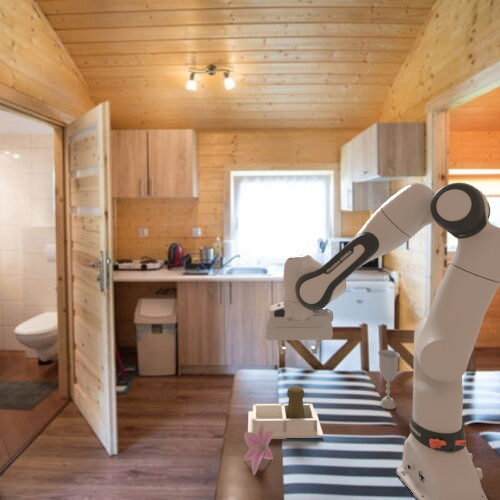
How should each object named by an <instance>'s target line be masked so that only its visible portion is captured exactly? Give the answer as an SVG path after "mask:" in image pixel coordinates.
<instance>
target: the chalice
mask: <svg viewBox="0 0 500 500" xmlns="http://www.w3.org/2000/svg"><path fill="white" fill-rule="evenodd" d="M377 353H378V356H379V361H378V362H379V364H378V365H379V370H380V373H381V375H382V377H383V379H384V381H386V385H385V387H386V390H385V393H386V395H385V396H383V398H382V399H381V401H380V403H379V405H381V406H382V408H383V409H387V410H393V409H395V408H396V404H395V401H394V399H393V398H392V397H391V396H390V394H391V390H390V389H391V387H392V386H391V384H390V383H391V382H393V380H394V379H395V377H396V375H397V372H398V370H399V358H400V355H401V354H400V353H399V352H397V351H394V350H391V349H381V350H378V352H377ZM381 406H380V407H381Z"/></svg>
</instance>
